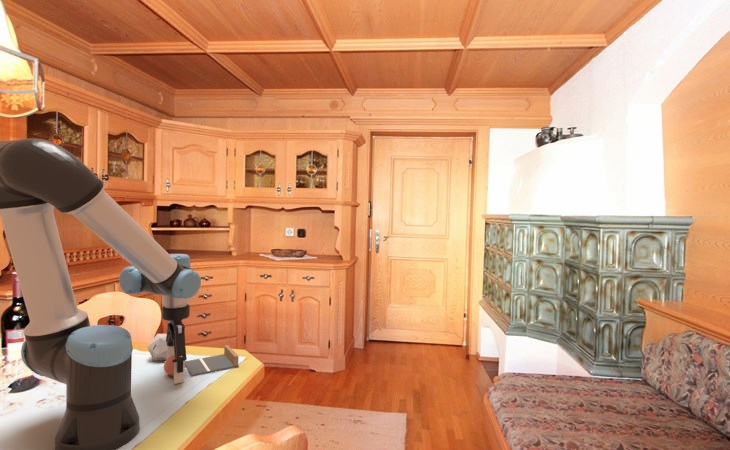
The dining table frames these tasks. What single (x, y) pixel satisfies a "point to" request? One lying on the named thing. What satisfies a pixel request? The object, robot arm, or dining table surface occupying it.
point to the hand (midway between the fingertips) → (175, 374)
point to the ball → (170, 365)
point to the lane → (213, 363)
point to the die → (158, 347)
